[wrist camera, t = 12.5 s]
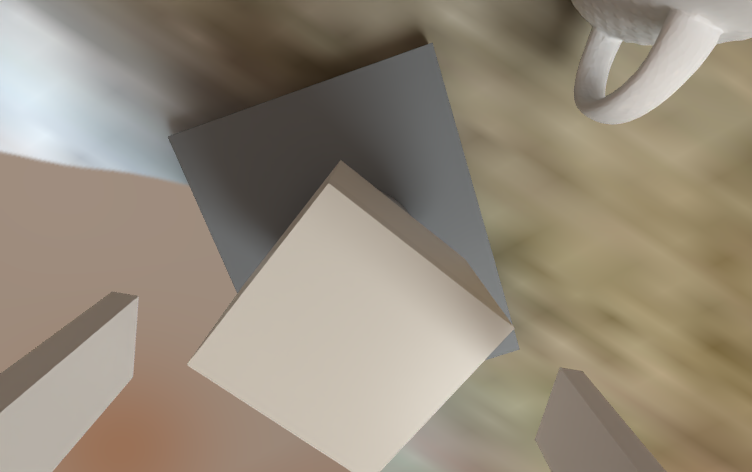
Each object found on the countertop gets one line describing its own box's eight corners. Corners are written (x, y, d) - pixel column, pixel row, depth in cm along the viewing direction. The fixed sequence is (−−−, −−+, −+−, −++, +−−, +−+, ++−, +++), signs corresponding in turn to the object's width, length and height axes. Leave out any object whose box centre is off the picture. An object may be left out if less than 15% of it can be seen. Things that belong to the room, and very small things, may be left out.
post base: (175, 135, 28) (67, 146, 18) (429, 45, 27) (469, 2, 17) (296, 409, 33) (265, 541, 22) (513, 340, 32) (584, 446, 22)
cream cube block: (367, 369, 26) (369, 482, 18) (244, 283, 25) (186, 364, 17) (464, 258, 25) (514, 328, 17) (340, 159, 23) (328, 182, 15)
